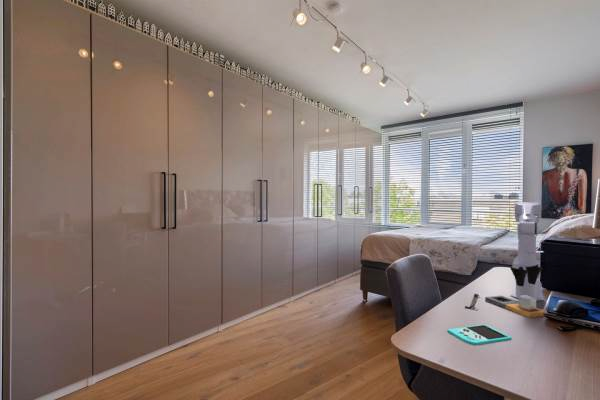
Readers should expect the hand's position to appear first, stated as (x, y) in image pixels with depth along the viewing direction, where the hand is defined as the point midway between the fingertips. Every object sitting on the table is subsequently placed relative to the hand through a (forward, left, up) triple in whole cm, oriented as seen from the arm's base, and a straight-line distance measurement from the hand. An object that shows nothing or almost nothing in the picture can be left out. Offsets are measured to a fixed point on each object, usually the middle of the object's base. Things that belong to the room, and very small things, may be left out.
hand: (526, 284), depth 122 cm
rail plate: (+4, -1, -9) cm, 10 cm away
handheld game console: (+39, +14, -10) cm, 43 cm away
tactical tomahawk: (+14, -10, -10) cm, 20 cm away
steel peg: (+4, +4, -10) cm, 11 cm away
